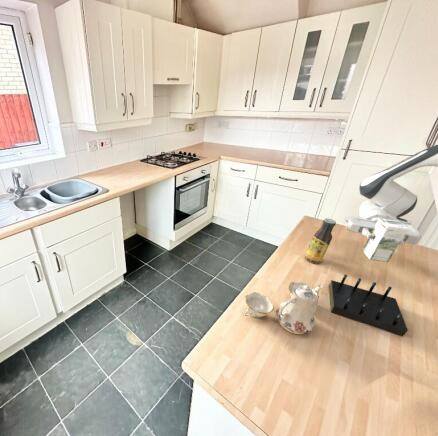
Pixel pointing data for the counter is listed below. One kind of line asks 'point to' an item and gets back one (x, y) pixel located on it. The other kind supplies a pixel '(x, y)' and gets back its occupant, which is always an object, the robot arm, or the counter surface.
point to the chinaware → (288, 308)
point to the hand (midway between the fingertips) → (385, 240)
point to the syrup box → (384, 240)
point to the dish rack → (367, 306)
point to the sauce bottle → (320, 242)
